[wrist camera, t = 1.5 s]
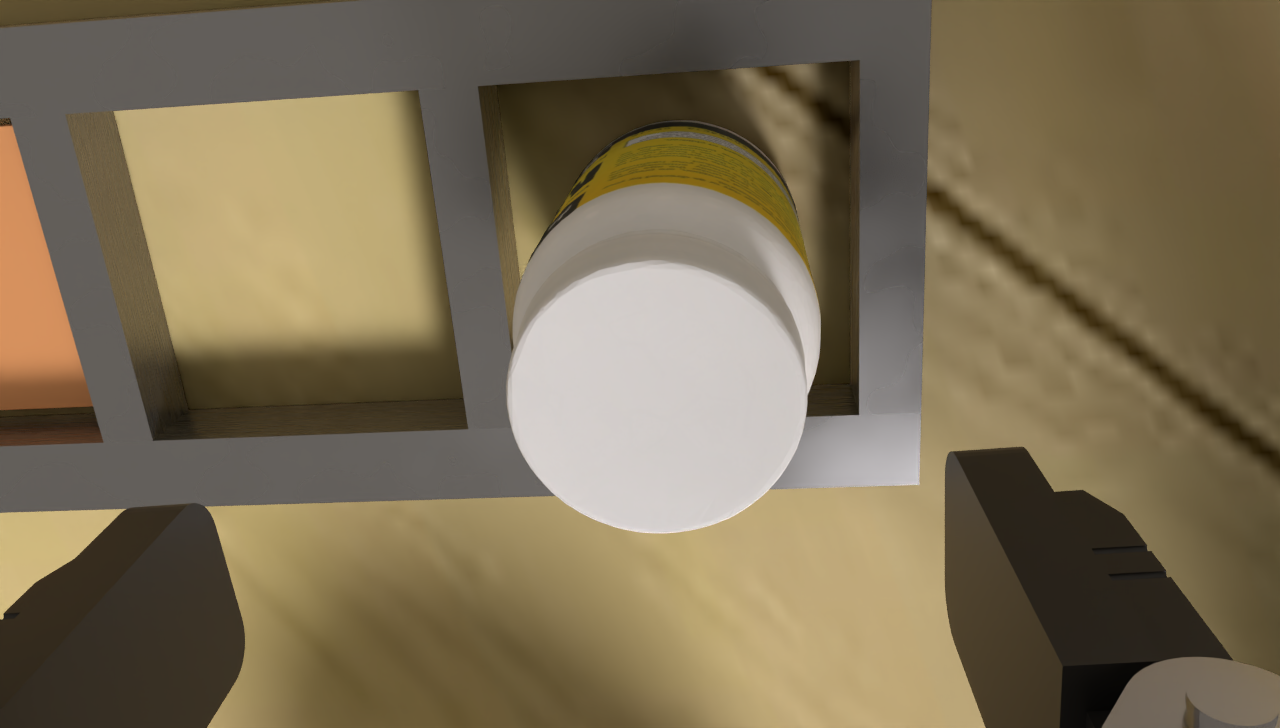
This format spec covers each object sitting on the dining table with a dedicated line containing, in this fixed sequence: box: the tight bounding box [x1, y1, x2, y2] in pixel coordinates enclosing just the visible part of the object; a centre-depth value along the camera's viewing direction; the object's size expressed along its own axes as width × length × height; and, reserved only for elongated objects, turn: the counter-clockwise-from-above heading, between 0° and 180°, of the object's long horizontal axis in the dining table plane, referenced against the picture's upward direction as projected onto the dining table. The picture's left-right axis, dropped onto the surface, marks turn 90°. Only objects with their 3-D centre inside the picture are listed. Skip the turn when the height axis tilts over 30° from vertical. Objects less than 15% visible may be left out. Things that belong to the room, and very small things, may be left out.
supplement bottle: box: [506, 120, 821, 533], centre depth 18 cm, size 5×5×8 cm
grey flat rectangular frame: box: [0, 0, 932, 513], centre depth 21 cm, size 25×10×2 cm, turn 94°
